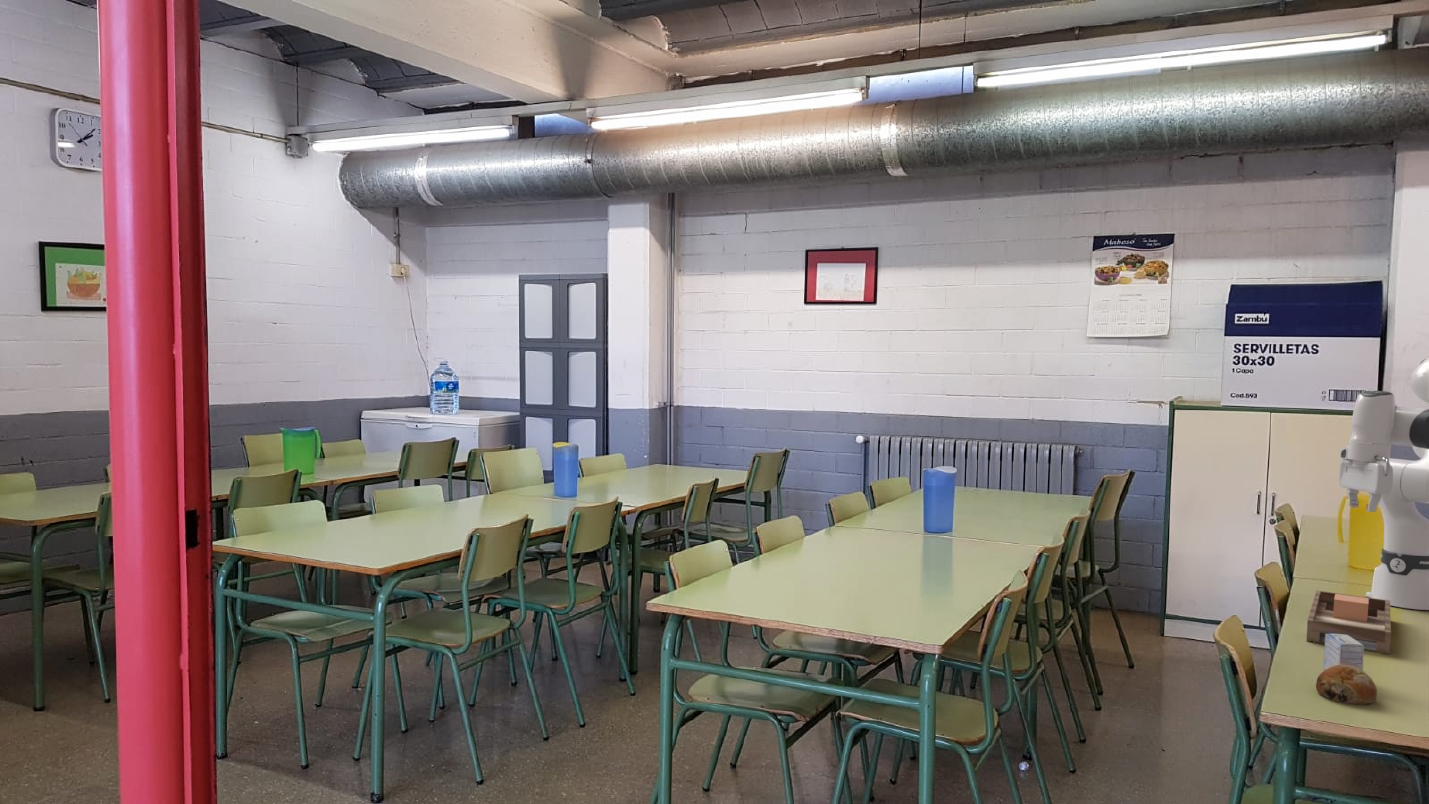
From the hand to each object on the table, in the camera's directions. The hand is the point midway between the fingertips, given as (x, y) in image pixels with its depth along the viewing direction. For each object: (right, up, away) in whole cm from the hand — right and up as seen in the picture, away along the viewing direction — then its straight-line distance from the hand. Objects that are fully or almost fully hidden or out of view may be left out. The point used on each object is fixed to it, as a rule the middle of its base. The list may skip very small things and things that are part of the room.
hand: (1361, 509), depth 249 cm
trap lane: (-8, -28, -8) cm, 31 cm away
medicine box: (-34, -30, -47) cm, 65 cm away
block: (-6, -26, -6) cm, 27 cm away
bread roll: (-40, -31, -56) cm, 76 cm away
